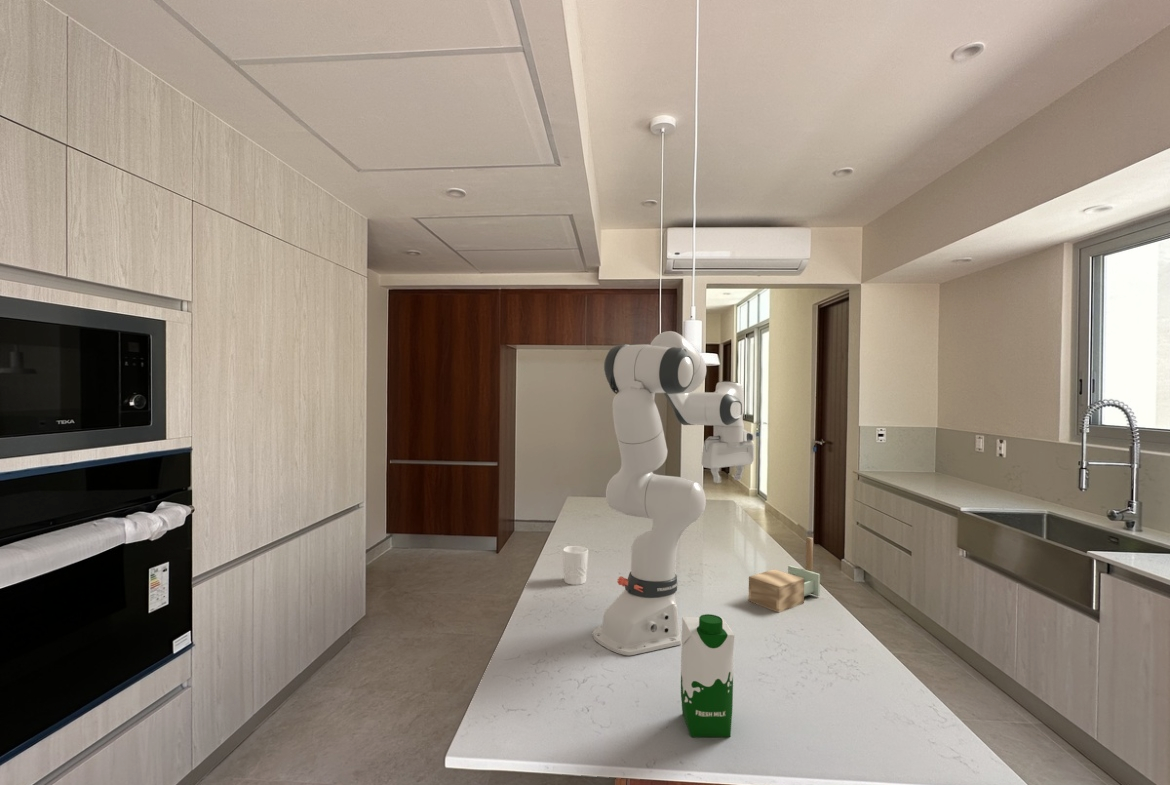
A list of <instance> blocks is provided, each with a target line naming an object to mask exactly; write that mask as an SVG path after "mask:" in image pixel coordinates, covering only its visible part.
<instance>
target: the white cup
mask: <svg viewBox="0 0 1170 785" xmlns="http://www.w3.org/2000/svg"><path fill="white" fill-rule="evenodd" d="M562 553H563V554H562V557H563V559H562V560H563V563H562V564H563V574H564V580H563V581H564V583H565V584H568V585H570V586H572V585H573V586H578V585H583V584H585V583H586V582H587V573H588V562H589V549H588V547H585V546H581V545H580V546H579V545H572V546H571V545H570V546H565V547H564V548H563V549H562Z"/></svg>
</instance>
